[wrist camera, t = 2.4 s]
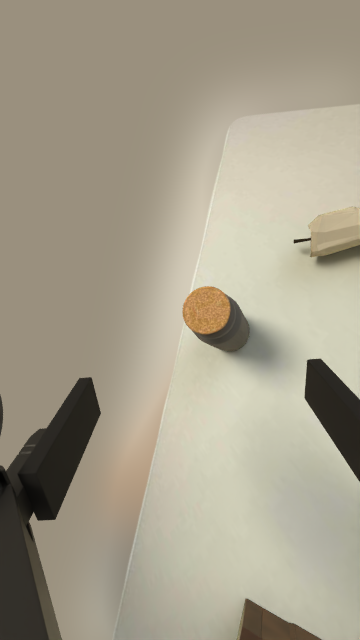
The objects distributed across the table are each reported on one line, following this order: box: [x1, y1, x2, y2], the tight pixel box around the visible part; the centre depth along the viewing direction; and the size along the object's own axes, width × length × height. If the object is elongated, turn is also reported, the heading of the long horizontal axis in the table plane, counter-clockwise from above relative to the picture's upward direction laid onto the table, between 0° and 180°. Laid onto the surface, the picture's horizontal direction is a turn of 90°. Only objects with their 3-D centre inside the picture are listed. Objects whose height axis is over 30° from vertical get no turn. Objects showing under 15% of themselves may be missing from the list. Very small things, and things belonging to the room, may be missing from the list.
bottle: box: [183, 286, 249, 351], centre depth 33 cm, size 6×6×15 cm
